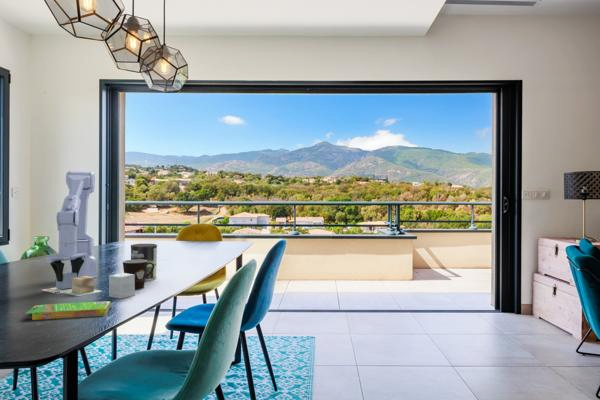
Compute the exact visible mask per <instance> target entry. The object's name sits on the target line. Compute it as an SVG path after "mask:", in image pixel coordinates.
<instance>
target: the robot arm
mask: <svg viewBox="0 0 600 400" xmlns="http://www.w3.org/2000/svg"><path fill="white" fill-rule="evenodd" d="M95 177H96V176H95V173H94V171H70V170H68V171H67V172H66V174H65V183H66V185H67V189H68V191H69V192H68V196H65V198H64V199H63V203H62V207H61V209H60V211H58V212H57V213H56V224H57V231H58V255H52V256H51V255H50V256H46V257H45V263H47V264H50V266H51V268H52V269H53V272H54V274H55V279H56V278H57V281H59V282H62V280H63V273H64V268H65V263H64V262H63V261H69V272H73V273H77V277H82V276H89V277H94V279H95V278H98V275H97V259H96V258H95V257H94V255H93V254H94V251H95V244H94V237H93V236H92V235H91V234H88V233H87V228H88V213H89V212H88V209H89V198H90V195H91V194H93V193H94V192H95V191H94V190H95V184H96V180H95V179H96V178H95Z"/></svg>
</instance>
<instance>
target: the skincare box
mask: <svg viewBox="0 0 600 400" xmlns="http://www.w3.org/2000/svg"><path fill="white" fill-rule="evenodd" d="M135 292H136V290H135V275H134V274H127V273H124V272H121V273H116V274H110V275H108V297H109V298H114V299H115V298H116V299H124V298H129V297H133V296H135V295H136V293H135Z"/></svg>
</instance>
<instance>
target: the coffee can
mask: <svg viewBox="0 0 600 400" xmlns="http://www.w3.org/2000/svg"><path fill="white" fill-rule="evenodd" d="M157 251H158V244H156V243H136V244H130V260H136V259H141V260H147V263H149V262H150V263H153V264H154V270H153V271H152V273H151V274H150V275H149V276H147V277H146V278H145V282H150V281H155V280H157V278H158V277H157V267H158V266H157V265H158V261H157V258H158V256H157ZM152 268H153V266H152V264H148V265H147V268H146V275H147V274H148V273H150V272H151V270H152Z"/></svg>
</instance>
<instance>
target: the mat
mask: <svg viewBox="0 0 600 400" xmlns="http://www.w3.org/2000/svg"><path fill="white" fill-rule="evenodd" d="M102 292H104V291H103V290H101V289H100V290H99V289H95V288H94V291H93V292H88V293H83V294H78V293H73V292H72V291H68V292H64V294H66V295H71V296H74V297H82V296H89V295H93V294H97V293H102Z"/></svg>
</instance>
